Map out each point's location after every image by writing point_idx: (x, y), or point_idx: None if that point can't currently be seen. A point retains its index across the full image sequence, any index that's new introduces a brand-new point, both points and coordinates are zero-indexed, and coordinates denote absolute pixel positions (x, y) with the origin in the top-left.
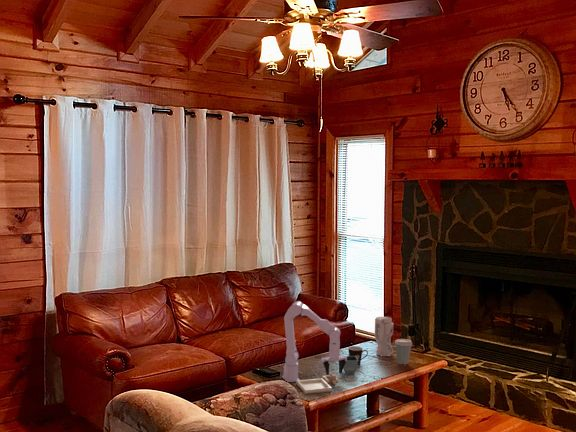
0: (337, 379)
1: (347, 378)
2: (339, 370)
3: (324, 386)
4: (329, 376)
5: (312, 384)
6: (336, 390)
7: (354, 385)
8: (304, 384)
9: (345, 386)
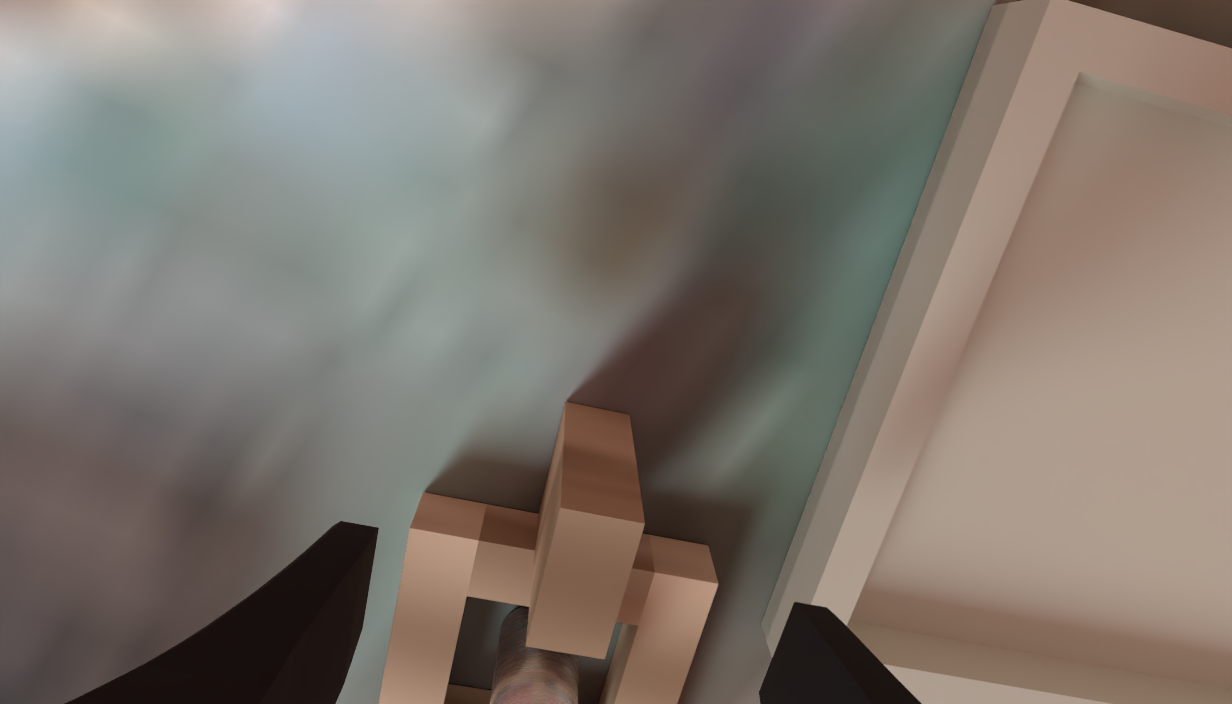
0: (437, 525)
1: (104, 563)
2: (340, 667)
3: (969, 334)
4: (573, 688)
5: (1100, 549)
6: (835, 7)
7: (148, 88)
8: (1228, 615)
9: (433, 145)
